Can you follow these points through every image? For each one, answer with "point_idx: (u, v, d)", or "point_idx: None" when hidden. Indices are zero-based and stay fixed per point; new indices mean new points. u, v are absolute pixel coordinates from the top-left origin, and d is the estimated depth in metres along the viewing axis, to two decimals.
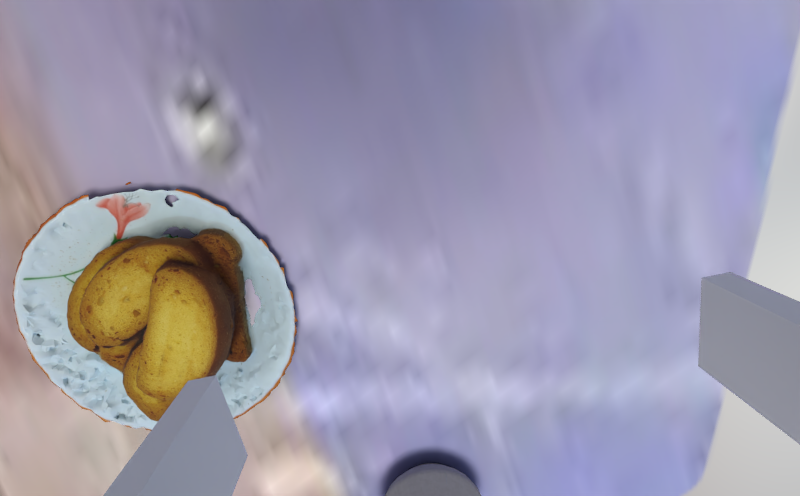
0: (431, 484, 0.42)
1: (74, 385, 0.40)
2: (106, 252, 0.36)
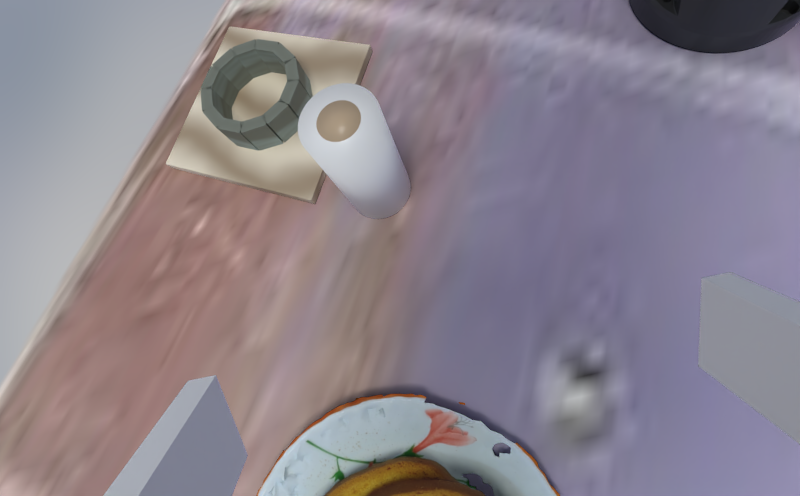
0: None
1: None
2: (404, 466, 0.30)
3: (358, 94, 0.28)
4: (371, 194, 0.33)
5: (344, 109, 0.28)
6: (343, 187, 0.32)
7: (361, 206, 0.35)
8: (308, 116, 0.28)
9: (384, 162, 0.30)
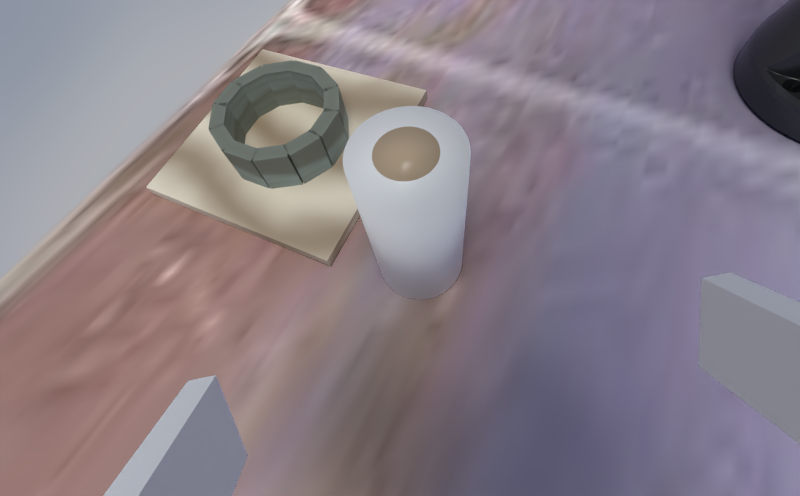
0: None
1: None
2: None
3: (438, 122, 0.19)
4: (421, 265, 0.23)
5: (416, 139, 0.19)
6: (386, 250, 0.22)
7: (399, 279, 0.26)
8: (361, 141, 0.19)
9: (455, 223, 0.21)
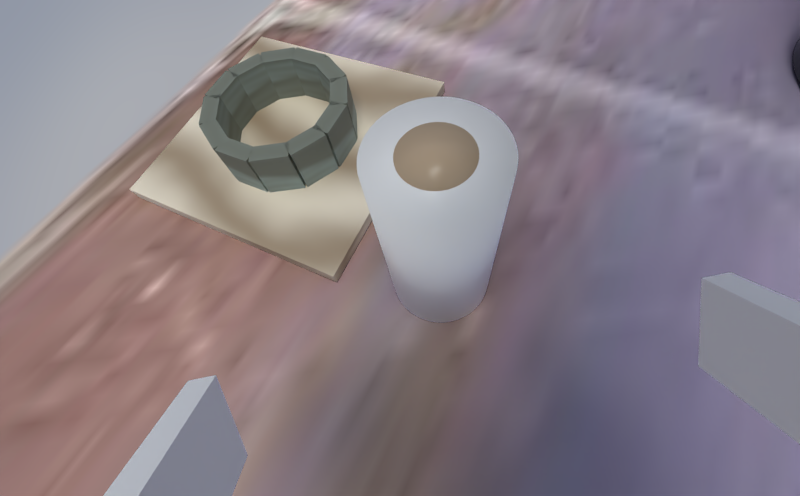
0: None
1: None
2: None
3: (475, 117, 0.16)
4: (448, 288, 0.19)
5: (448, 137, 0.15)
6: (406, 271, 0.18)
7: (418, 302, 0.22)
8: (379, 140, 0.16)
9: (492, 241, 0.17)
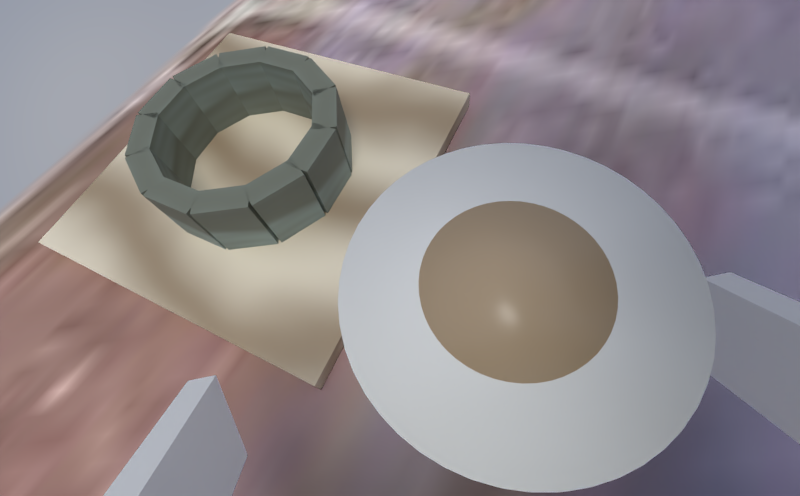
0: None
1: None
2: None
3: (592, 192, 0.07)
4: None
5: (539, 240, 0.07)
6: None
7: None
8: (388, 240, 0.07)
9: None
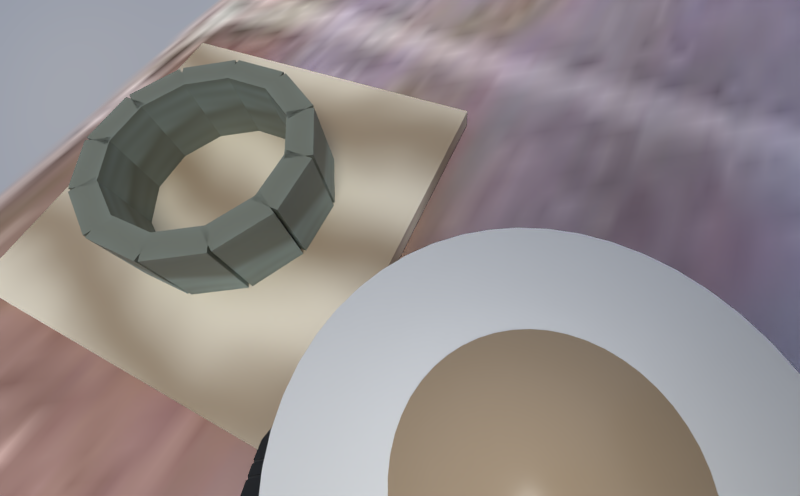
0: None
1: None
2: None
3: (660, 315, 0.05)
4: None
5: (583, 404, 0.04)
6: None
7: None
8: (342, 394, 0.05)
9: None
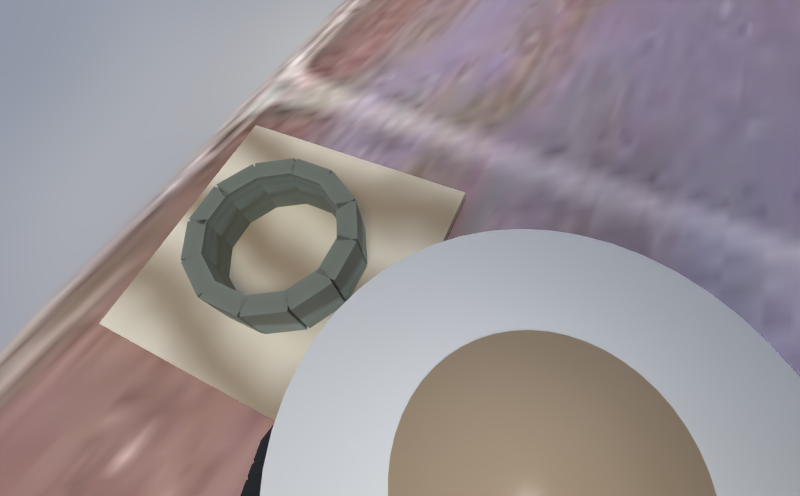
0: None
1: None
2: None
3: (659, 316, 0.05)
4: None
5: (582, 405, 0.04)
6: None
7: None
8: (343, 394, 0.05)
9: None
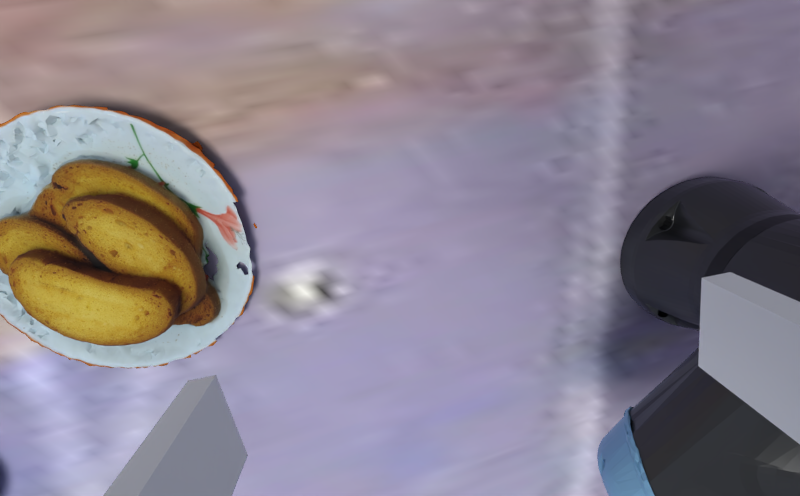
0: None
1: None
2: (179, 213, 0.36)
3: None
4: None
5: None
6: None
7: None
8: None
9: None
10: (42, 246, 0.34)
